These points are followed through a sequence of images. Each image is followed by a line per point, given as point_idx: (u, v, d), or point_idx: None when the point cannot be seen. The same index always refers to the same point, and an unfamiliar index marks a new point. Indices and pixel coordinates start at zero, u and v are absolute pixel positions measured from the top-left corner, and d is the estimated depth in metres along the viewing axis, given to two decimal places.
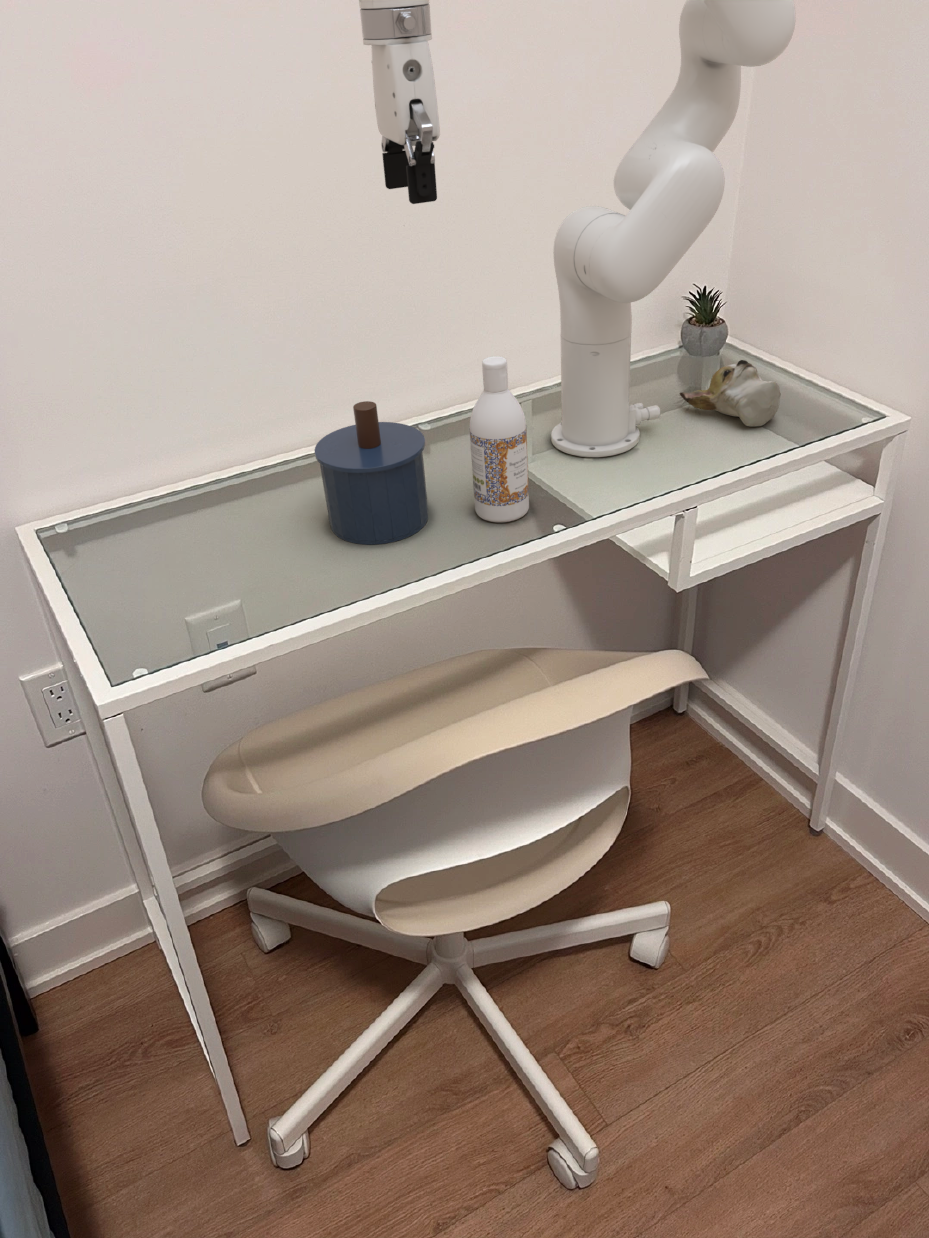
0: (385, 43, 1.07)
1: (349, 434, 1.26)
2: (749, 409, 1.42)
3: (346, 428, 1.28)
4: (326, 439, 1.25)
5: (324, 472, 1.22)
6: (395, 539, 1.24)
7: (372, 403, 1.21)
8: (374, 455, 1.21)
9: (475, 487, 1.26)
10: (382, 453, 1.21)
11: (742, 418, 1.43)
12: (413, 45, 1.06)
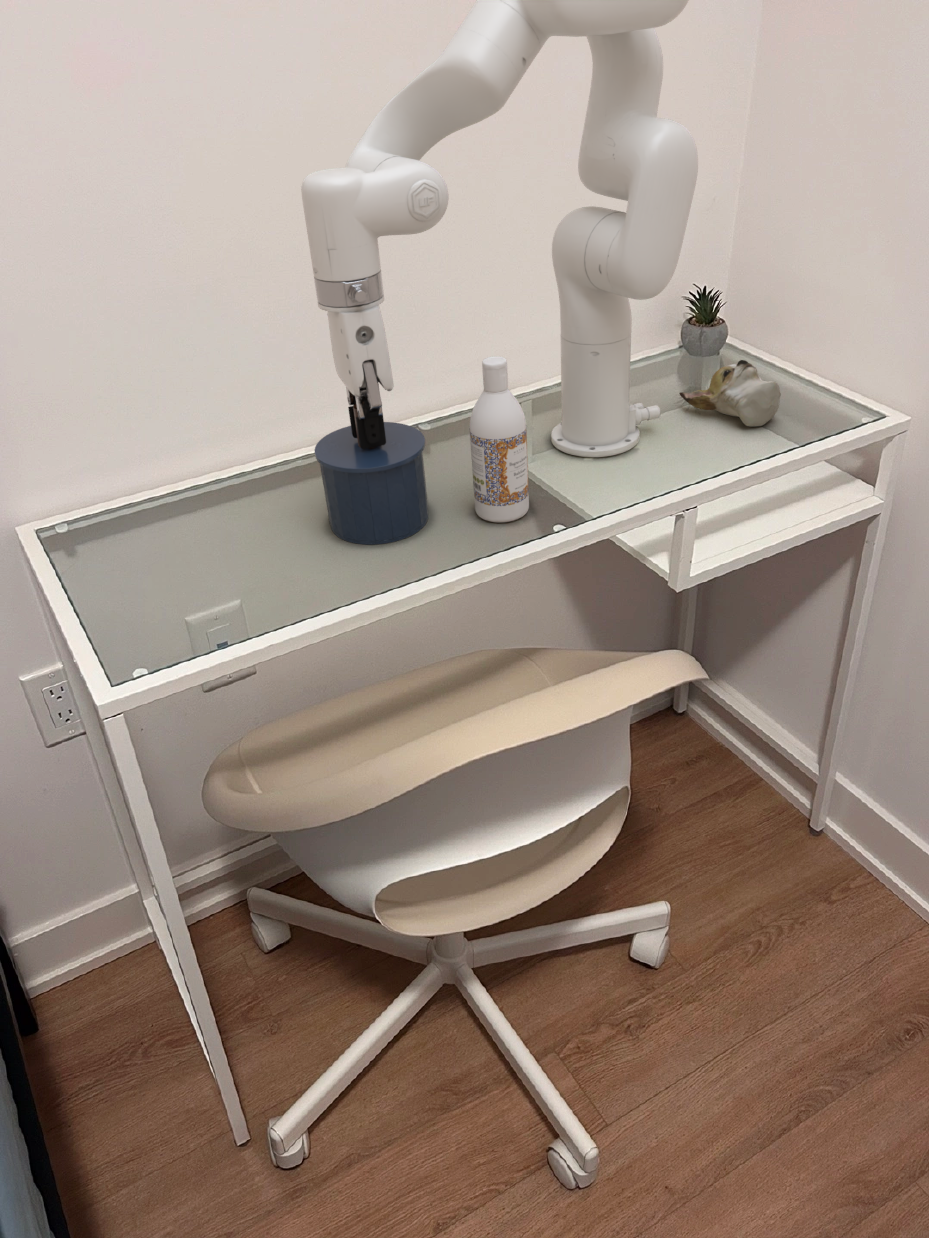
0: (338, 311, 1.11)
1: (349, 433, 1.26)
2: (749, 409, 1.42)
3: (346, 428, 1.28)
4: (326, 439, 1.25)
5: (324, 472, 1.22)
6: (395, 539, 1.24)
7: None
8: (374, 455, 1.21)
9: (475, 487, 1.26)
10: (382, 453, 1.21)
11: (742, 418, 1.43)
12: (365, 313, 1.10)
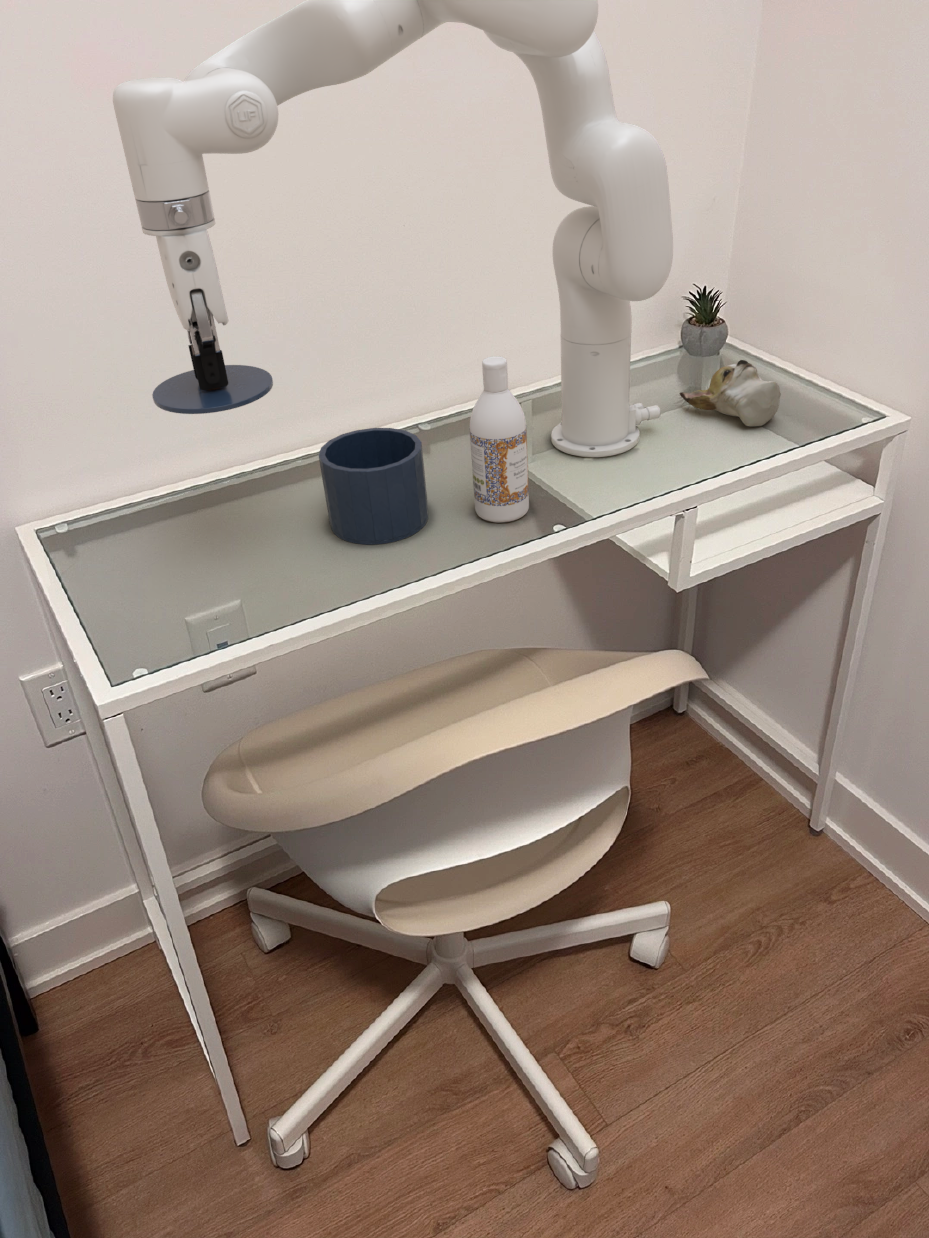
0: (160, 234, 1.02)
1: (194, 376, 1.18)
2: (749, 409, 1.42)
3: (193, 371, 1.20)
4: (169, 381, 1.17)
5: (324, 472, 1.22)
6: (395, 539, 1.24)
7: None
8: (214, 396, 1.12)
9: (475, 487, 1.26)
10: (222, 394, 1.13)
11: (742, 418, 1.43)
12: (188, 237, 1.02)
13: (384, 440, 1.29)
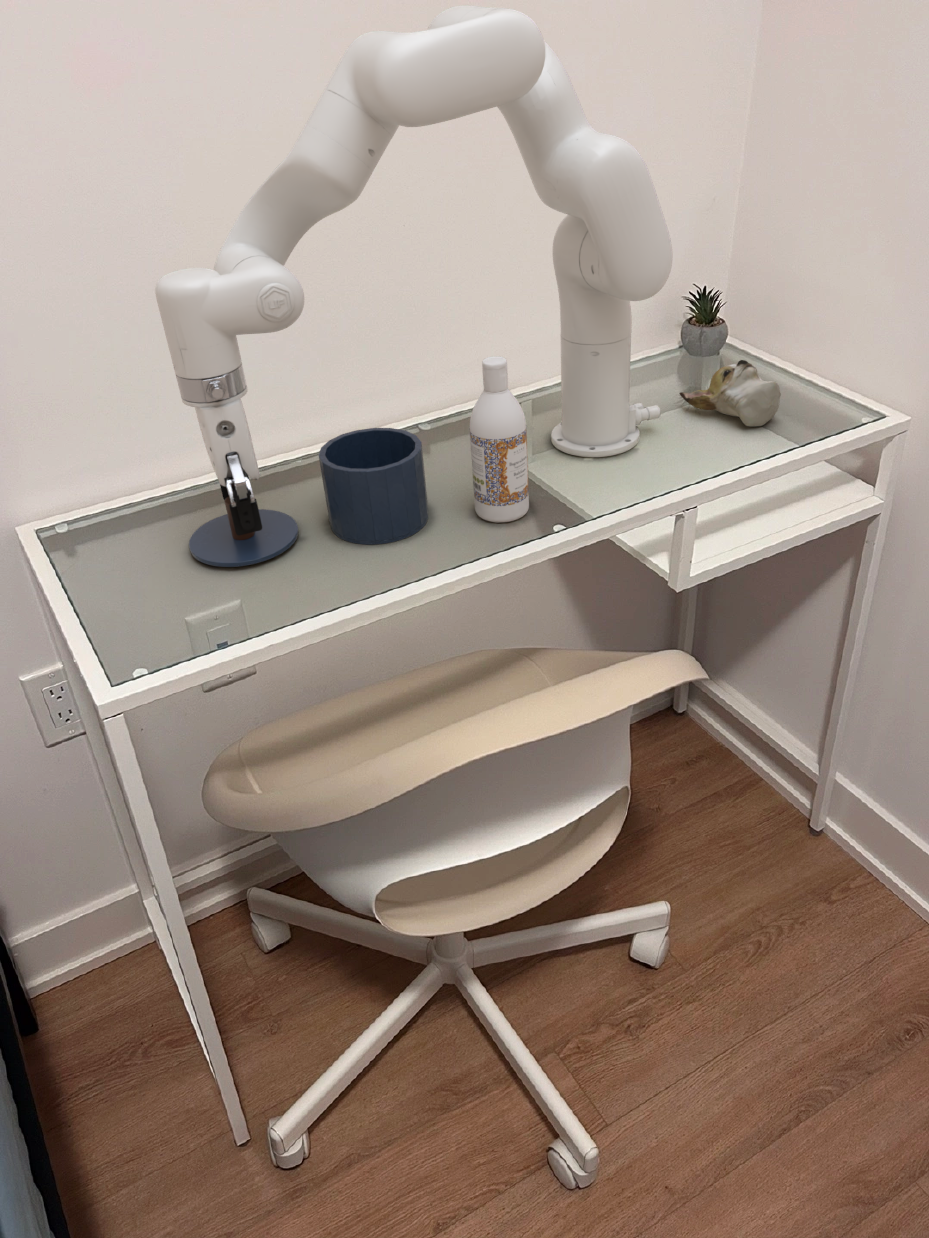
0: (198, 406, 1.13)
1: (226, 522, 1.29)
2: (749, 409, 1.42)
3: (225, 516, 1.30)
4: (203, 528, 1.28)
5: (324, 472, 1.22)
6: (395, 539, 1.24)
7: None
8: (245, 547, 1.23)
9: (475, 487, 1.26)
10: (253, 545, 1.23)
11: (742, 418, 1.43)
12: (224, 408, 1.12)
13: (384, 440, 1.29)
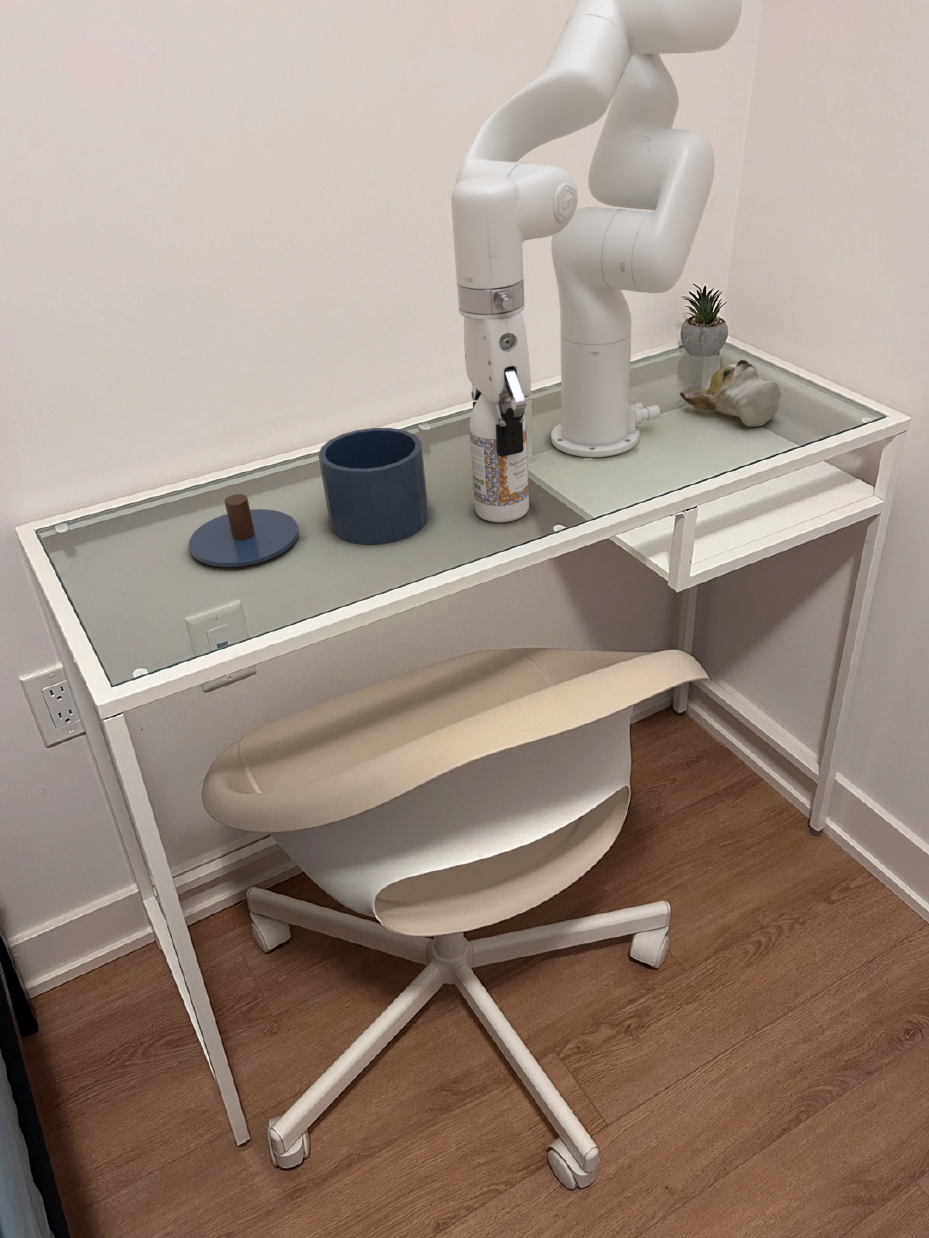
0: (482, 318, 1.11)
1: (226, 522, 1.29)
2: (749, 409, 1.42)
3: (225, 516, 1.30)
4: (203, 528, 1.28)
5: (324, 472, 1.22)
6: (395, 539, 1.24)
7: (243, 496, 1.24)
8: (245, 547, 1.23)
9: (475, 487, 1.26)
10: (253, 545, 1.23)
11: (742, 418, 1.43)
12: (509, 320, 1.11)
13: (384, 440, 1.29)
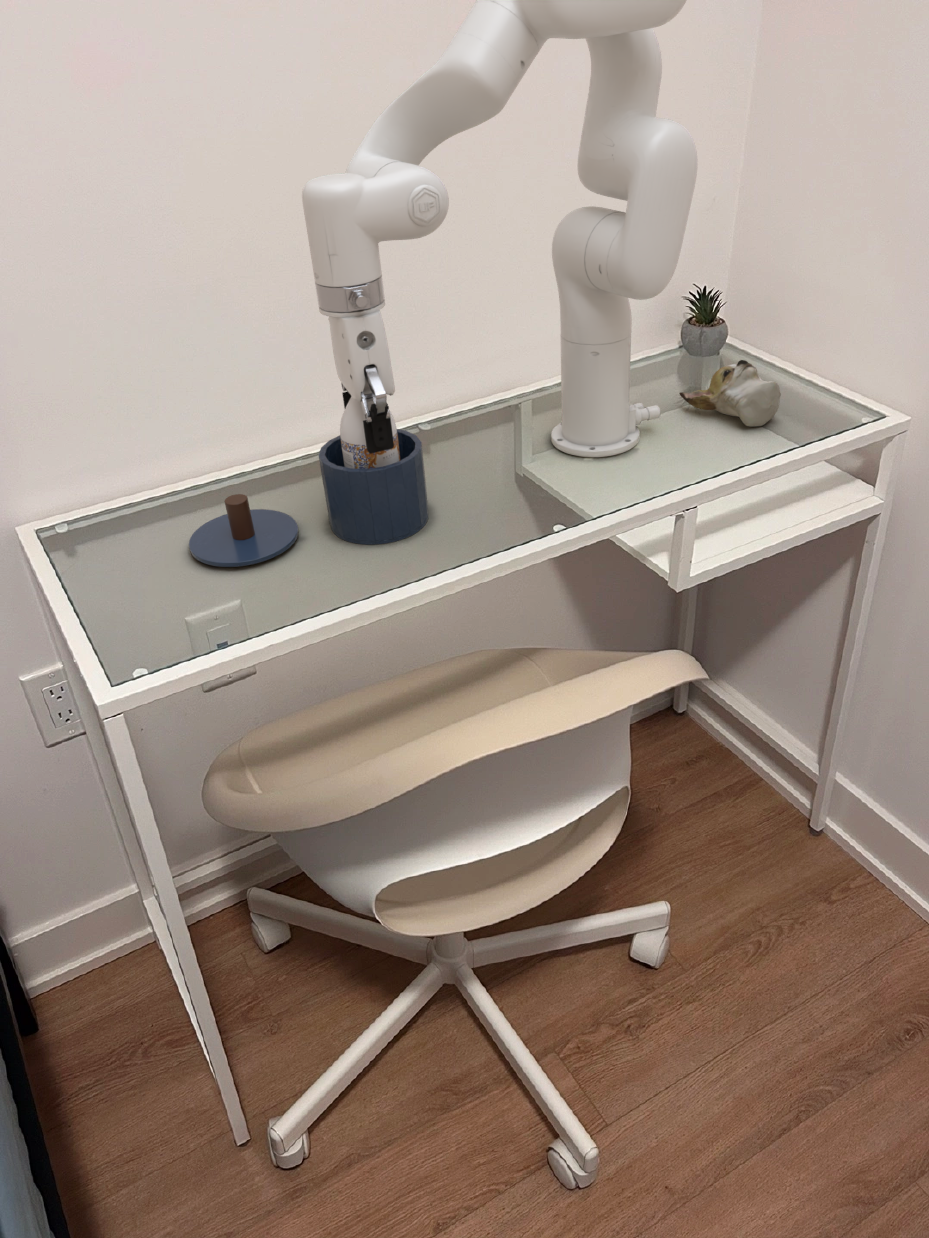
0: (339, 316, 1.11)
1: (226, 522, 1.29)
2: (749, 409, 1.42)
3: (225, 516, 1.30)
4: (203, 528, 1.28)
5: (324, 472, 1.22)
6: (395, 539, 1.24)
7: (243, 496, 1.24)
8: (245, 547, 1.23)
9: None
10: (253, 545, 1.23)
11: (742, 418, 1.43)
12: (366, 318, 1.11)
13: None
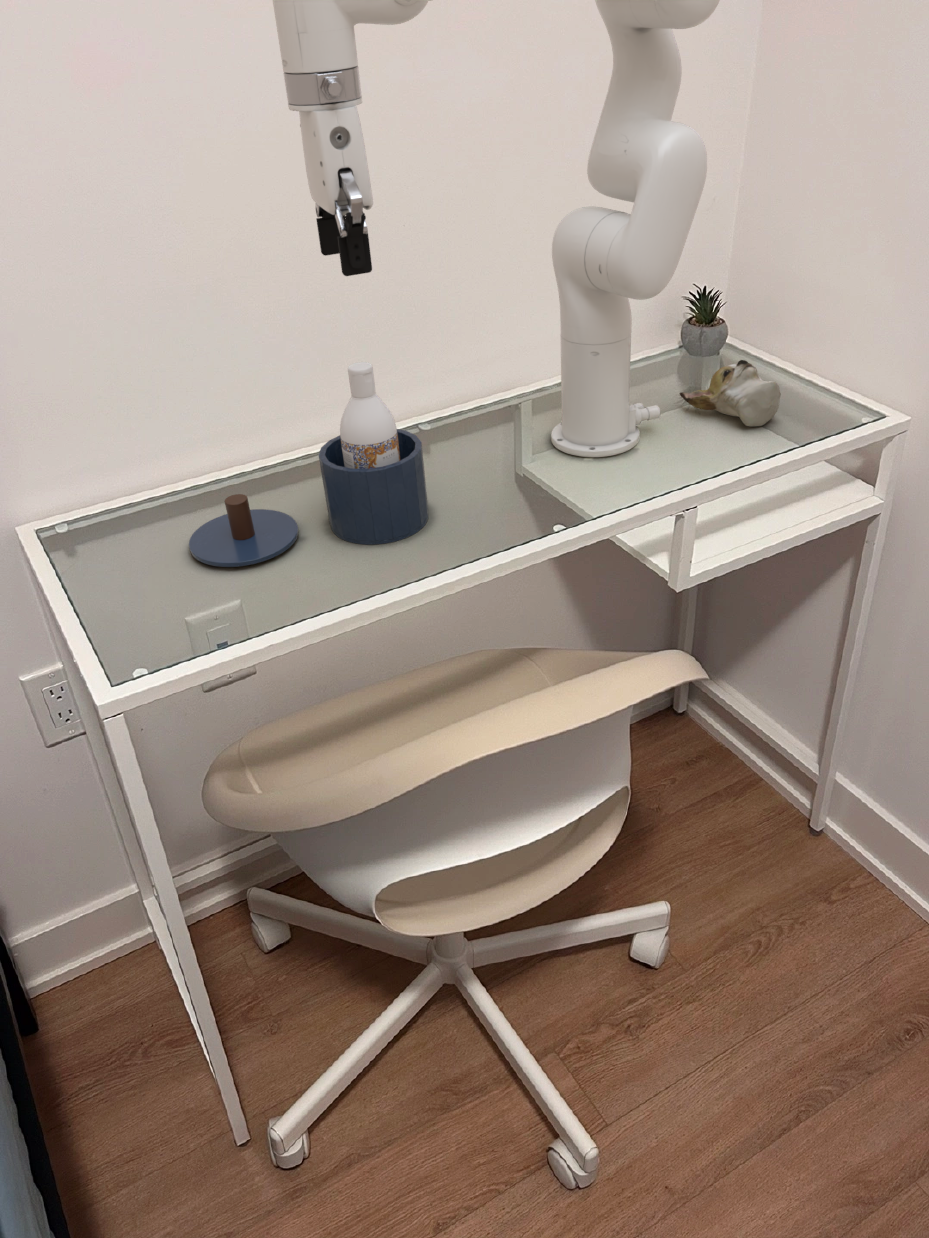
0: (310, 109, 0.99)
1: (226, 522, 1.29)
2: (749, 409, 1.42)
3: (225, 516, 1.30)
4: (203, 528, 1.28)
5: (324, 472, 1.22)
6: (395, 539, 1.24)
7: (243, 496, 1.24)
8: (245, 547, 1.23)
9: None
10: (253, 545, 1.23)
11: (742, 418, 1.43)
12: (340, 111, 0.99)
13: None
